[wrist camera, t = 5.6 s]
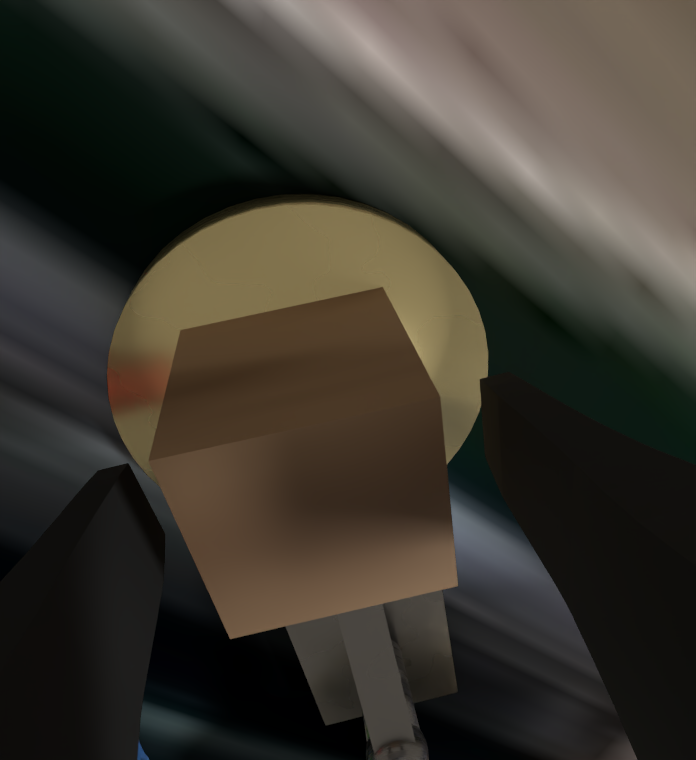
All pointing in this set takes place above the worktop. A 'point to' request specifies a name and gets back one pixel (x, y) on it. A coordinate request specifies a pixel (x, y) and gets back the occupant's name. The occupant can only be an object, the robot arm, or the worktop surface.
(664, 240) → the worktop surface
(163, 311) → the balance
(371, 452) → the block
